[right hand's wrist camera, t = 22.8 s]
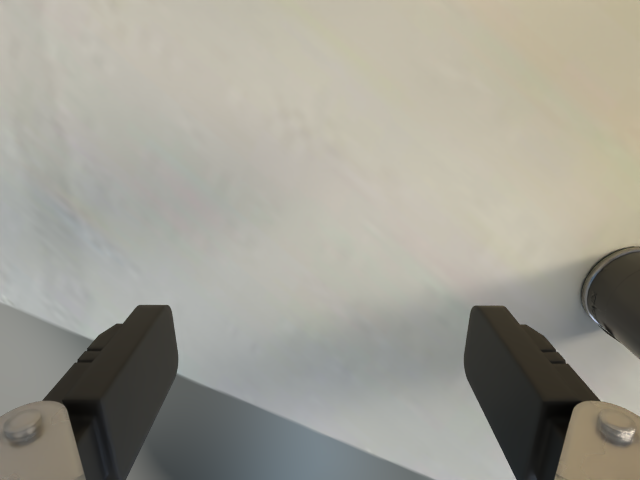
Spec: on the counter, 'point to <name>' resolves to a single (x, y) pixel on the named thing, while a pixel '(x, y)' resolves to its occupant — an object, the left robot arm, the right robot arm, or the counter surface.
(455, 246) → the counter surface
